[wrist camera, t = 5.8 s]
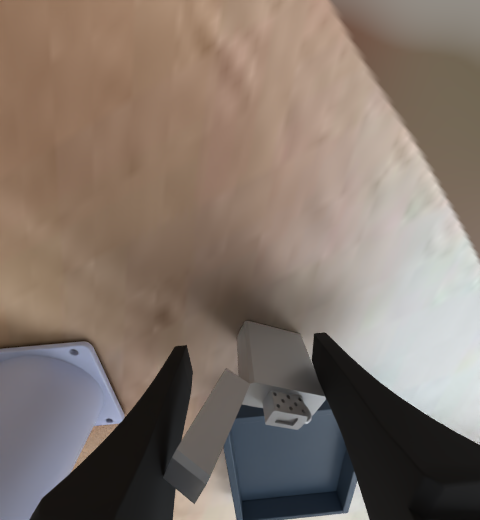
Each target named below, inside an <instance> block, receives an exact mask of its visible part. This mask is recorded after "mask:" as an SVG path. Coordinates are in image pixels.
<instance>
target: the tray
mask: <svg viewBox="0 0 480 520" xmlns="http://www.w3.org/2000/svg"><path fill="white" fill-rule="evenodd" d="M323 393H324V392H323ZM325 398H326V397H325ZM311 417H312V419H311V421H310V422H309V423H308V424H303V426H302V427H301V428H299V429H298V430H295V429H289V428H283V427H277V426H271V425H266V424H265V418H264V410H263V408H259V407H253V406H248V405H241V407H240V409H239V412H238V414H237V416H236V418H235V421H234V423H233V425H232V428H231V430H230V432H229V435H228V437H227V439H226V441H225V444H224V446H223V447H224V453H225V458H226V464H227V469H228V475H229V480H230V486H231V491H232V497H233V502H234V508H235V513H236V519H237V520H285V519H295V518H304V517H313V516H323V515H332V514H342V513H348V510H349V507H350V504H351V500H352V497H353V494H354V490H355V487H356V483H357V478H356V475H355V472H354V469H353V466H352V463H351V460H350V457H349V454H348V451H347V448H346V445H345V442H344V439H343V437H342V434H341V431H340V429H339V426H338V424H337V422H336V419H335V417H334V415H333V413H332V410H331V408H330V406H329V404H328V401H327V399H326V400H325V401H324V402H323V404H322V405H321V406H320V407H319V409H318V410H317V411H316V412H315V414H314V415H312V416H311Z"/></svg>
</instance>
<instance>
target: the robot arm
mask: <svg viewBox="0 0 480 520" xmlns="http://www.w3.org/2000/svg"><path fill="white" fill-rule="evenodd" d="M312 363H313V366H314V369H315V372H316V375H317V378H318V381H319V383H320V386H321V388H322V390H323V392H324V395H325V397H326V399H327V401H328V404H329V406H330V408H331V410H332V413H333V415H334V417H335V419H336V422H337V424H338V426H339V429H340V431H341V434H342V437H343V439H344V442H345V445H346V448H347V451H348V454H349V457H350V460H351V463H352V466H353V469H354V472H355V475H356V478H357V481H358V484H359V487H360V490H361V493H362V497H363V500H364V503H365V506H366V509H367V512H368V516H369V519H370V520H480V445H479V444H477V443H475V442H473V441H471V440H469V439H467V438H466V437H464V436H462V435H460V434H458V433H456V432H455V431H453V430H451V429H449V428H448V427H446V426H444V425H443V424H441V423H439V422H437V421H436V420H434V419H432V418H431V417H429V416H428V415H426V414H424V413H423V412H421V411H420V410H418V409H417V408H415V407H414V406H412V405H411V404H409V403H408V402H406V401H405V400H403V399H402V398H400V397H399V396H397V395H396V394H395V393H393V392H392V391H391V390H389V389H388V388H387V387H385V386H384V385H383V384H381V383H380V382H379V381H378V380H376V379H375V378H374V377H373V376H372V375H370V374H369V373H368V372H367V371H366V370H364V369H363V368H362V367H361V366H360V365H359V364H358V363H357V362H356V361H354V360H353V359H352V358H351V357H350V356H349V355H348V354H347V353H346V352H345V351H344V350H343V349H342V348H341V347H340V346H339V345H338V344H337V343H336V342H335V341H334V340H333V339H332V338H331V337H330V336H329V335H327V334H326V333H315V334H314V342H313V353H312ZM192 375H193V371H192V366H191V362H190V357H189V353H188V349H187V345H185V346H175V347H174V349H173V350H172V352H171V354H170V355H169V357H168V359H167V360H166V362H165V364H164V365H163V367H162V368H161V370H160V371H159V373H158V374H157V376H156V377H155V379H154V380H153V382H152V383H151V385H150V386H149V388H148V389H147V390H146V392H145V393H144V394H143V396H142V397H141V398H140V400H139V401H138V402H137V404H136V405H135V406H134V407H133V409H132V410H131V411H130V412H129V413H128V415H127V416H126V417H125V418H124V413H123V411H122V408H121V406H120V404H119V402H118V400H117V398H116V395H115V393H114V391H113V389H112V387H111V385H110V382H109V380H108V378H107V376H106V374H105V372H104V369H103V367H102V365H101V363H100V361H99V359H98V356H97V354H96V352H95V350H94V348H93V346H92V345H91V344H90V343H89V342H85V341H81V342H70V343H59V344H48V345H37V346H26V347H15V348H4V349H0V520H173V509H174V499H175V489H176V488H175V487H174V486H172V485H171V484H170V483H169V482H168V481H166V480H165V479H164V478H163V477H164V474H165V472H166V470H167V468H168V465H169V463H170V461H171V458H172V456H173V455H174V453H175V451H176V449H177V447H178V446H179V444H180V443H181V440H182V435H183V430H184V425H185V420H186V415H187V410H188V405H189V400H190V394H191V387H192ZM118 423H120V424H119V425H118V426H117V427H116V428H115V429H114V431H113V432H112V433H111V434H110V435H109V436H108V437H107V438H106V439H105V440H104V441H103V442H102V443H101V444H100V445H99V446H98V447H97V448H96V449H95V450H94V451H93V452H92V453H91V454H90V455H89V456H88V457H87V458H86V459H85V460H84V461H83V462H82V463H81V464H80V465H79V466H78V467H77V468H76V469H75V470H74V471H72V469H73V467H74V465H75V463H76V461H77V459H78V457H79V455H80V453H81V451H82V449H83V447H84V445H85V442H86V440H87V438H88V436H89V434H90V432H91V430H92V428H93V426H98V425H108V424H118ZM71 471H72V472H71Z"/></svg>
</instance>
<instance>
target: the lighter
mask: <svg viewBox="0 0 480 520" xmlns="http://www.w3.org/2000/svg"><path fill="white" fill-rule="evenodd" d="M237 352H238V375H239V376H237V375H236V374H234V373H233V372H231V371H230V370H228V369H227V368H226V369H225V371H224V372H223V374H222V376H221V377H220V379H219V381H218V382H217V384H216V386H215V387H214V389H213V390H212V392H211V394H210V395H209V397H208V399H207V400H206V402H205V403H204V405H203V407H202V408H201V410H200V412H199V413H198V415H197V416H196V418H195V420H194V421H193V423H192V425H191V426H190V428H189V430H188V431H187V433H186V434H185V436H184V438H183V439H182V441H181V443H180V444H179V446H178V447H177V449H176V451H175V453H174V455H173V456H172V458H171V461H170V463H169V465H168V468H167V470H166V472H165V474H164V477H163V478H164V479H165V480H166V481H168V482H169V483H170V484H171V485H172V486H174V487H175V488H176V489H177V490H178V491H179V492H181V493H182V494H183V495H184V496H185V497H187V498H188V499H189V500H190V501H191V502H193V503H194V504H195V502H196V501H197V499H198V497H199V496H200V494H201V492H202V491H203V489H204V487H205V486H206V484H207V482H208V480H209V478H210V476H211V474H212V471H213V469H214V467H215V464H216V462H217V460H218V457H219V455H220V453H221V451H222V448H223V446H224V444H225V441H226V439H227V437H228V435H229V432H230V430H231V428H232V425H233V423H234V421H235V418H236V416H237V414H238V412H239V409H240V407H241V405H248V406H253V407H259V408H263V410H264V418H265V424H266V425H271V426H277V427H283V428H289V429H295V430H298V429H299V428H301V427H302V426H303V424H308V423H309V422H310V421H311V419H312V417H311V416H312V415H314V414H315V412H316V411H317V410H318V409H319V407H320V406H321V405H322V404H323V402H324V401H325V400H326V398H325V395H324V393H323V390H322V388H321V386H320V383H319V381H318V378H317V375H316V372H315V370H314V367H313V365H312V362H311V359H310V357H309V354H308V352H307V349H306V347H305V344H304V342H303V339H302V337H301V334H298V333H294V332H290V331H286V330H282V329H279V328H275V327H271V326H267V325H263V324H259V323H255V322H251V321H245V322H244V323H243V325H242V328H241V330H240V332H239V334H238V336H237Z"/></svg>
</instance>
